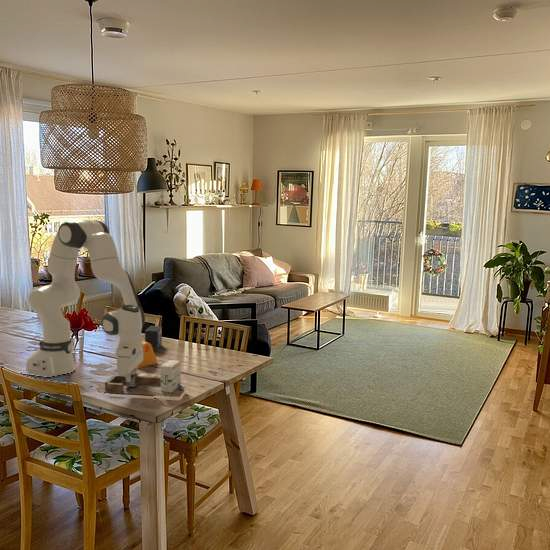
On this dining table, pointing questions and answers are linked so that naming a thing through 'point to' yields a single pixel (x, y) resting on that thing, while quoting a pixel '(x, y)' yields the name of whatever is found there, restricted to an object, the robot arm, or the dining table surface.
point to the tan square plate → (146, 374)
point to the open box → (117, 381)
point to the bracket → (147, 355)
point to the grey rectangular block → (134, 380)
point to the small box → (154, 336)
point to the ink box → (170, 375)
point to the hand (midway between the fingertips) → (131, 379)
